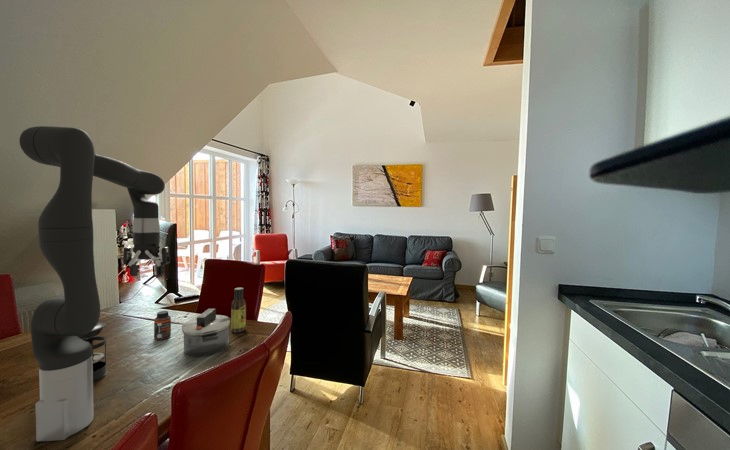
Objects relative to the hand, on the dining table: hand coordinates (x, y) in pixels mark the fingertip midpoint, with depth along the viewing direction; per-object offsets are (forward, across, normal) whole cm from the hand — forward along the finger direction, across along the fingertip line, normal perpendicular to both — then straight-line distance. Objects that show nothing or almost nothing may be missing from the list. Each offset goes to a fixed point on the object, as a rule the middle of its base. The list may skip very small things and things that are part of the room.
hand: (147, 276), depth 100 cm
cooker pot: (+32, +15, +12) cm, 37 cm away
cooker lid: (+23, +15, +12) cm, 30 cm away
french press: (+32, -14, -8) cm, 36 cm away
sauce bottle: (+32, +22, +28) cm, 48 cm away
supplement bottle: (+32, -8, +22) cm, 40 cm away
